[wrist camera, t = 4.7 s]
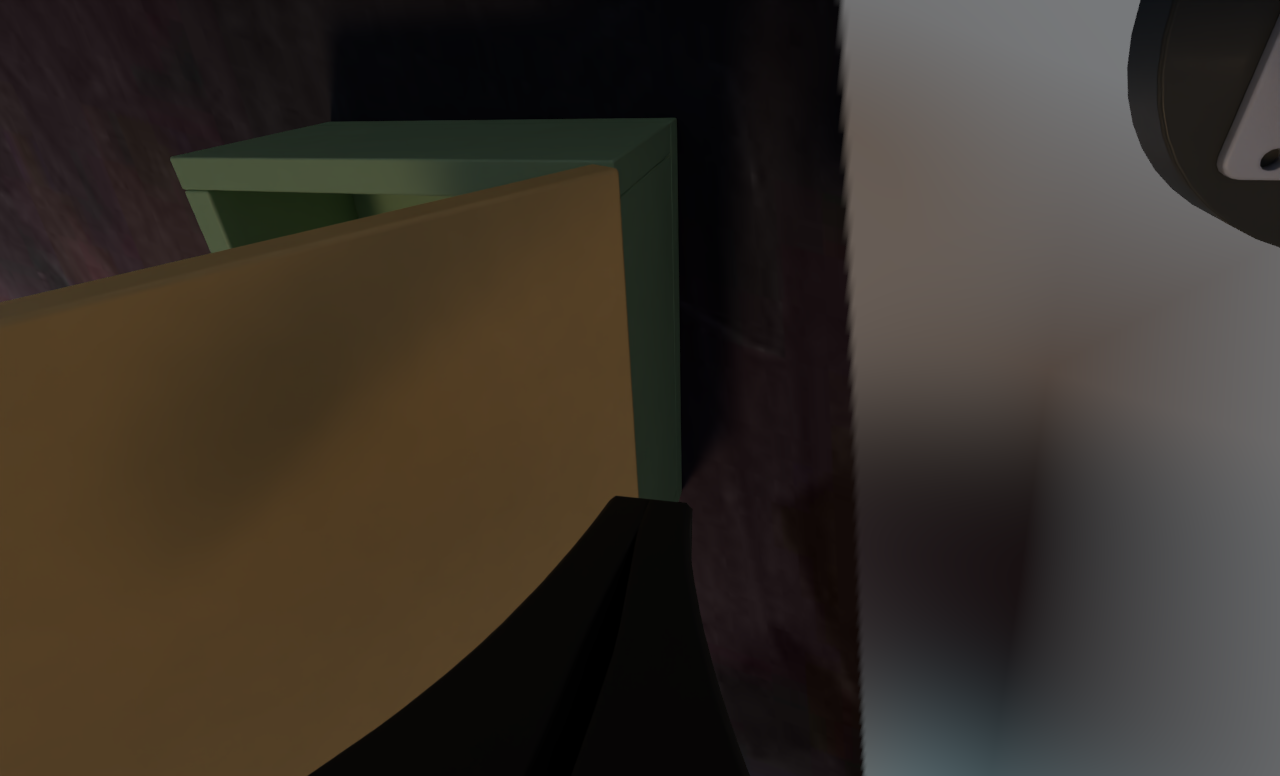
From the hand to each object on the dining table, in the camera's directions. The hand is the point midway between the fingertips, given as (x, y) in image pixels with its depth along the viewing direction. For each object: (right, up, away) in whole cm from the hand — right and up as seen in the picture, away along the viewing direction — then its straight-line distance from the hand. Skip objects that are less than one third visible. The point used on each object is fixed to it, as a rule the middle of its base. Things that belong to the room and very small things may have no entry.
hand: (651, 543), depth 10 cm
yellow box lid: (-5, -1, +1) cm, 6 cm away
